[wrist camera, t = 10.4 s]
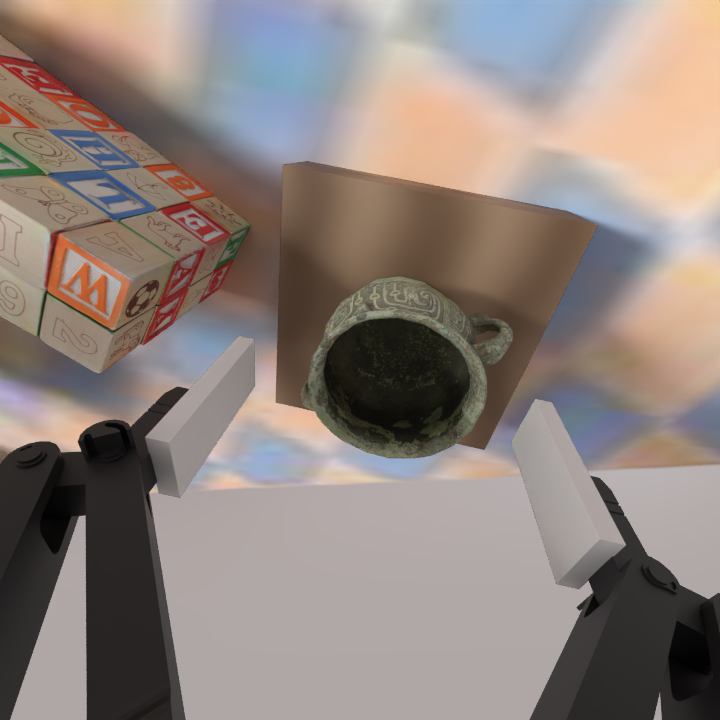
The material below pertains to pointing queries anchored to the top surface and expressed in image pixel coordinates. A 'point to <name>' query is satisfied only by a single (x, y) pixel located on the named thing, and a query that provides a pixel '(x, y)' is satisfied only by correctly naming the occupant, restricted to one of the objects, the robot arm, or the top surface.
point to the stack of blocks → (97, 224)
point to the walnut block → (418, 264)
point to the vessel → (402, 369)
